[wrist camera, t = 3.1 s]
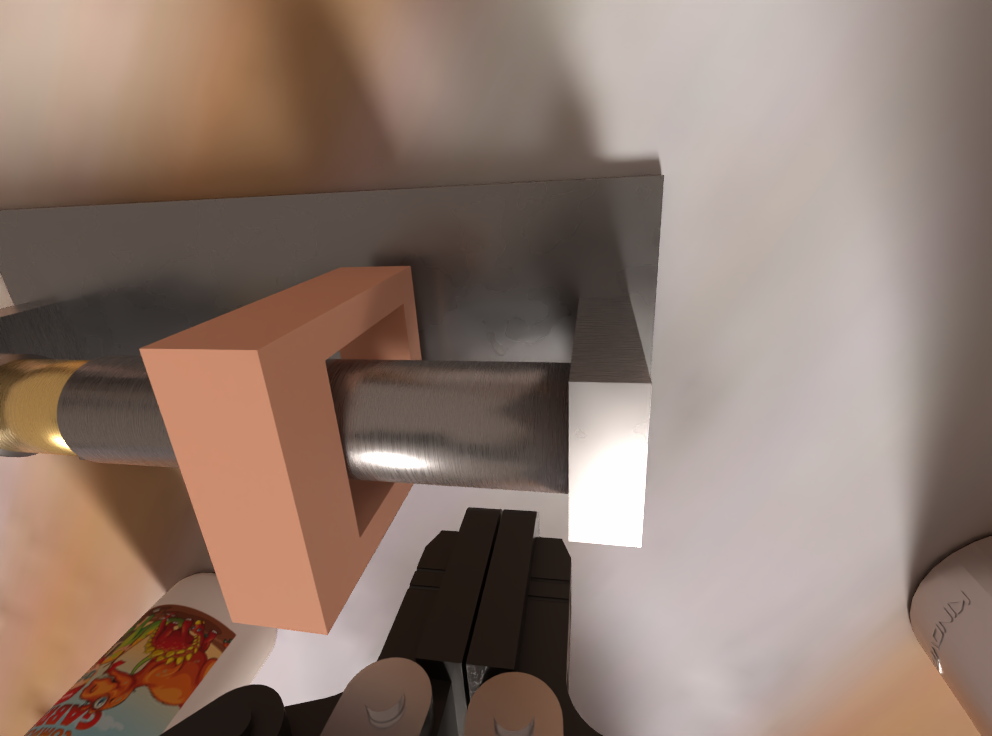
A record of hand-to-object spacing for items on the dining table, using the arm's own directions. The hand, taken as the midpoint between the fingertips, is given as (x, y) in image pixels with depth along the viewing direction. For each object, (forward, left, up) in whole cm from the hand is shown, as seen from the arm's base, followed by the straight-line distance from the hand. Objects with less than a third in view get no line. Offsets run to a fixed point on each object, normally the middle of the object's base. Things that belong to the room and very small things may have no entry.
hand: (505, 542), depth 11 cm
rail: (+12, 0, -12) cm, 17 cm away
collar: (+7, 0, -10) cm, 12 cm away
